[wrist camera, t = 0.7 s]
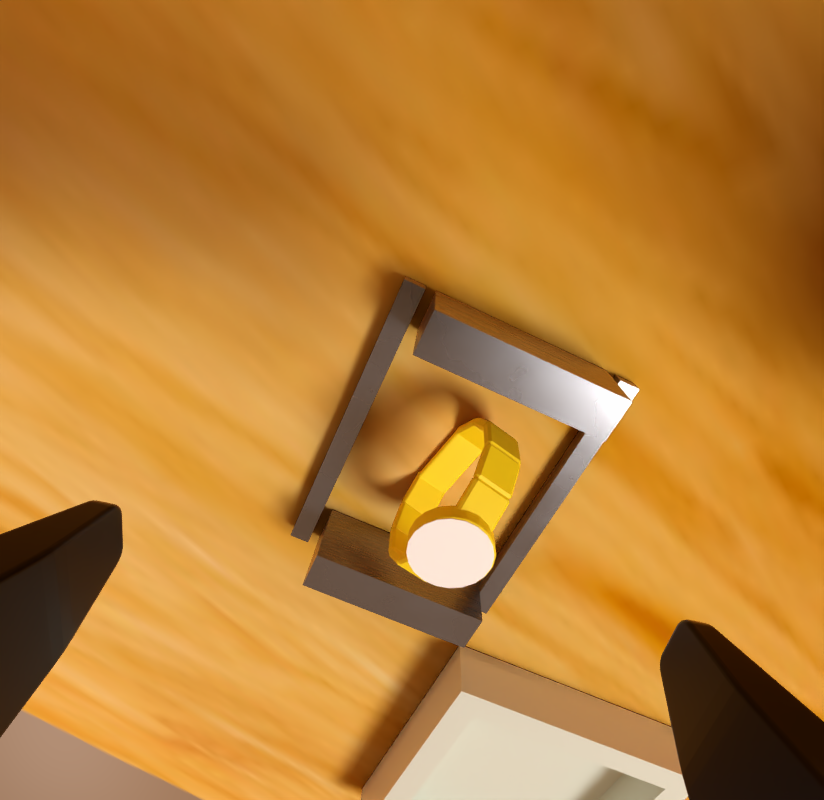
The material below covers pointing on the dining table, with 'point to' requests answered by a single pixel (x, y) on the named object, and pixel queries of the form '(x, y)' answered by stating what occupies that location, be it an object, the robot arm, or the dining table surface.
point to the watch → (456, 508)
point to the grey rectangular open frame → (493, 369)
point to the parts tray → (523, 742)
